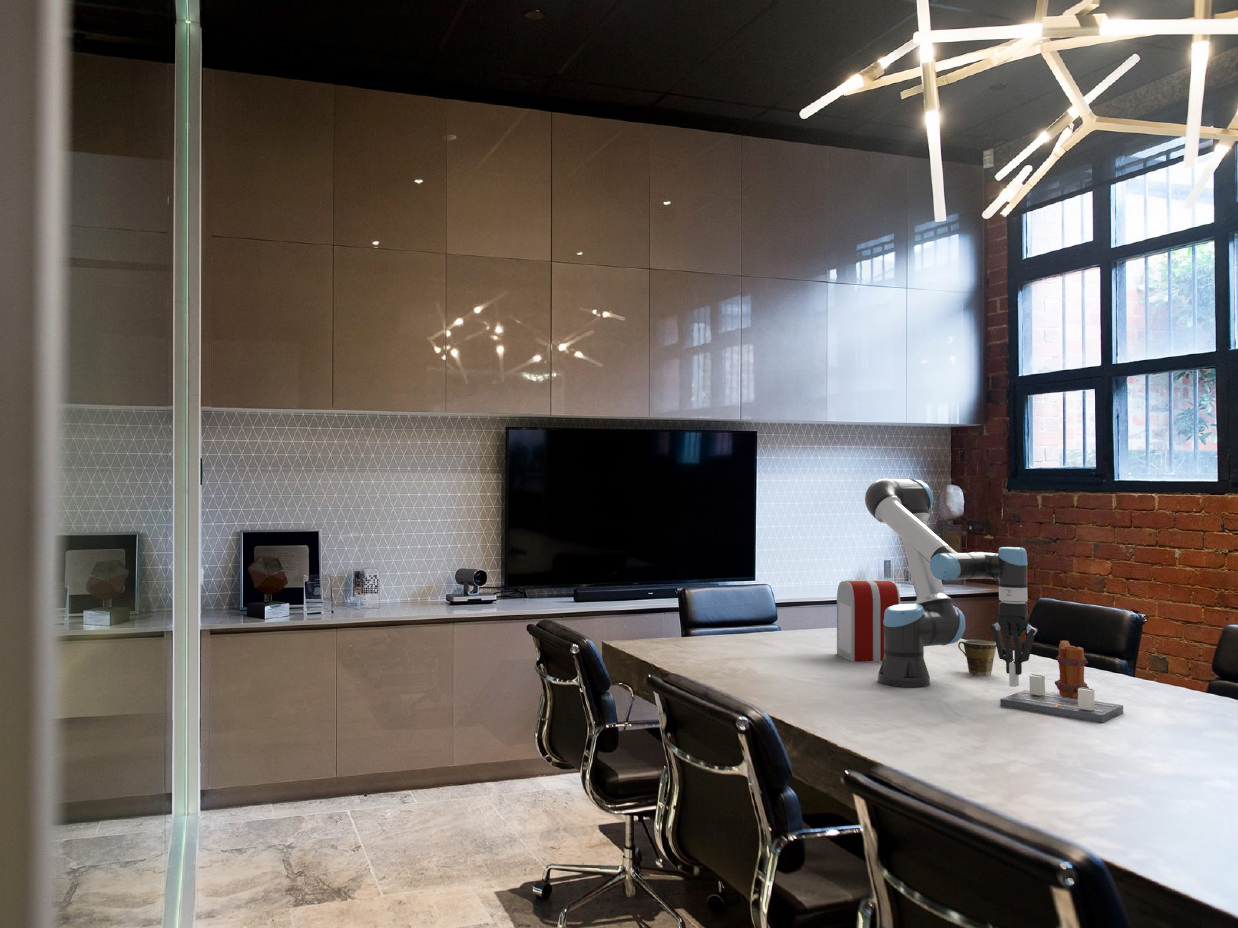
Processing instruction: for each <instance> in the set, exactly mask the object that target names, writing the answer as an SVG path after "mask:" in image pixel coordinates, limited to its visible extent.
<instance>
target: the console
mask: <svg viewBox="0 0 1238 928" xmlns="http://www.w3.org/2000/svg"><path fill="white" fill-rule="evenodd" d="M999 701H1000V702H999V704H1000V707H1003V708H1010V709H1014V710H1015V709H1016V710H1020V711H1027V712H1033V713H1040V714H1046V715H1051V716H1058V717H1064V718H1069V719H1070V718H1071V719H1075V720H1081V721H1089V722H1093V723H1099V724H1104V723H1105V722H1108V721H1109V720H1112V719H1114V718H1116V717H1119V716H1120V715H1122V714H1124V705H1122V704H1116V703H1112V702H1111V703H1110V702H1104V701H1097V700H1094V709H1092V710H1085V709H1079V708H1078V698H1072V697H1065V696H1060V694H1059V695H1058V694H1057V695H1056V694H1051V693H1045V694H1043V695H1035V694H1030V690H1025V689H1024V690H1021V691H1018V692H1016V693H1012V694H1009V695H1007V696H1003V697H1002V698H999Z"/></svg>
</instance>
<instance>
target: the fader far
mask: <svg viewBox="0 0 1238 928" xmlns="http://www.w3.org/2000/svg"><path fill="white" fill-rule="evenodd" d="M1028 677H1029V691H1030V694H1035V695H1043V694H1046V682H1045V681H1046V675H1042V674H1037V673H1036V674H1035V673H1034V674H1033V673H1031V675H1029V676H1028Z"/></svg>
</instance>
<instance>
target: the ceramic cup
mask: <svg viewBox="0 0 1238 928" xmlns="http://www.w3.org/2000/svg"><path fill="white" fill-rule="evenodd" d="M961 644H963V649H962V648H961ZM957 646H958V647H957V648H958V649H959V651H960V652H961V653H962V654H963V655H964V656H965V657H966V664H967V668H968V673H969V674H970V675H975V676H989V675H990V676H991V675H992V671H993V665H994V659H995V656H996V651H997V647H996V642H995V641H991V640H984V639H965V640H963V641H958V644H957Z"/></svg>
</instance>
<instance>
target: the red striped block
mask: <svg viewBox="0 0 1238 928" xmlns="http://www.w3.org/2000/svg"><path fill="white" fill-rule="evenodd" d="M898 604H901V595H900V590H899V587H898V585H897V584H896V582H893V581H892V580H889V579H862V580H861V579H855V580H854V579H853V580H852V579H850V580H849V579H846V580H841V581H840V582H839V584H838V587H837V593H836V654H837V655H838V656H840V657H842V658H845V659H846V660H848V661H849V662H855V663H857V662H859V663H860V662H863V663H864V662H875V663H876V662H882V661H883V658H884V623H883V620H884V612H885V610H886V609H887V608H888V607H890V606H893V605H898Z"/></svg>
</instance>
